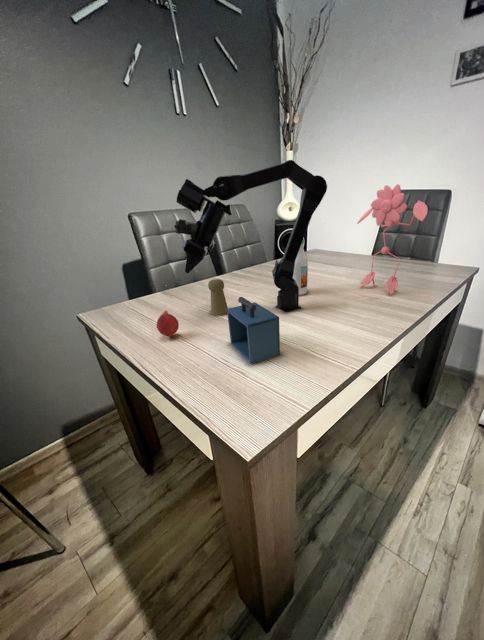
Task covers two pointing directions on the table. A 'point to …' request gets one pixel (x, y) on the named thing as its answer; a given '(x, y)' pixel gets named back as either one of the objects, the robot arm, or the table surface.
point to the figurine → (390, 223)
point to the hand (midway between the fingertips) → (189, 269)
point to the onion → (167, 324)
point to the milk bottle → (301, 270)
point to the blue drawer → (254, 331)
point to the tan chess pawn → (217, 297)
